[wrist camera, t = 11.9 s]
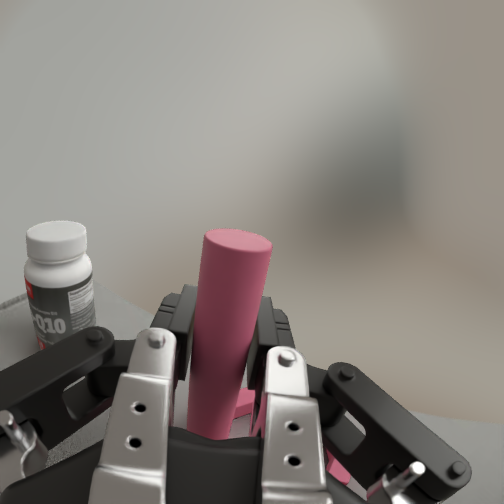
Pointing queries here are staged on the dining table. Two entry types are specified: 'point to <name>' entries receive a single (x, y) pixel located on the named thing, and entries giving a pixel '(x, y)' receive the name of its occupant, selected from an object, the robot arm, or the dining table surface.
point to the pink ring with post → (228, 333)
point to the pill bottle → (59, 280)
